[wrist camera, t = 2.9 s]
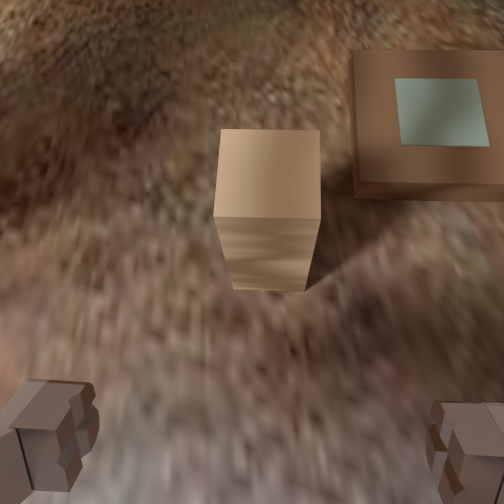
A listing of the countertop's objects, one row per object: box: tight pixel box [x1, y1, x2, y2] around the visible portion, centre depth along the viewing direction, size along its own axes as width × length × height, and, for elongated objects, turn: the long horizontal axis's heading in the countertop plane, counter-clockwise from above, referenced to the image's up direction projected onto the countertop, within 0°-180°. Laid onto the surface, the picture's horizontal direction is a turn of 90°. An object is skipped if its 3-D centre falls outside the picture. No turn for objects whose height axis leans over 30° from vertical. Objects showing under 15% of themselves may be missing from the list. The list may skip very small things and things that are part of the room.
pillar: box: [213, 129, 321, 291], centre depth 21 cm, size 4×4×9 cm
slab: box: [348, 50, 504, 202], centre depth 27 cm, size 10×10×3 cm
